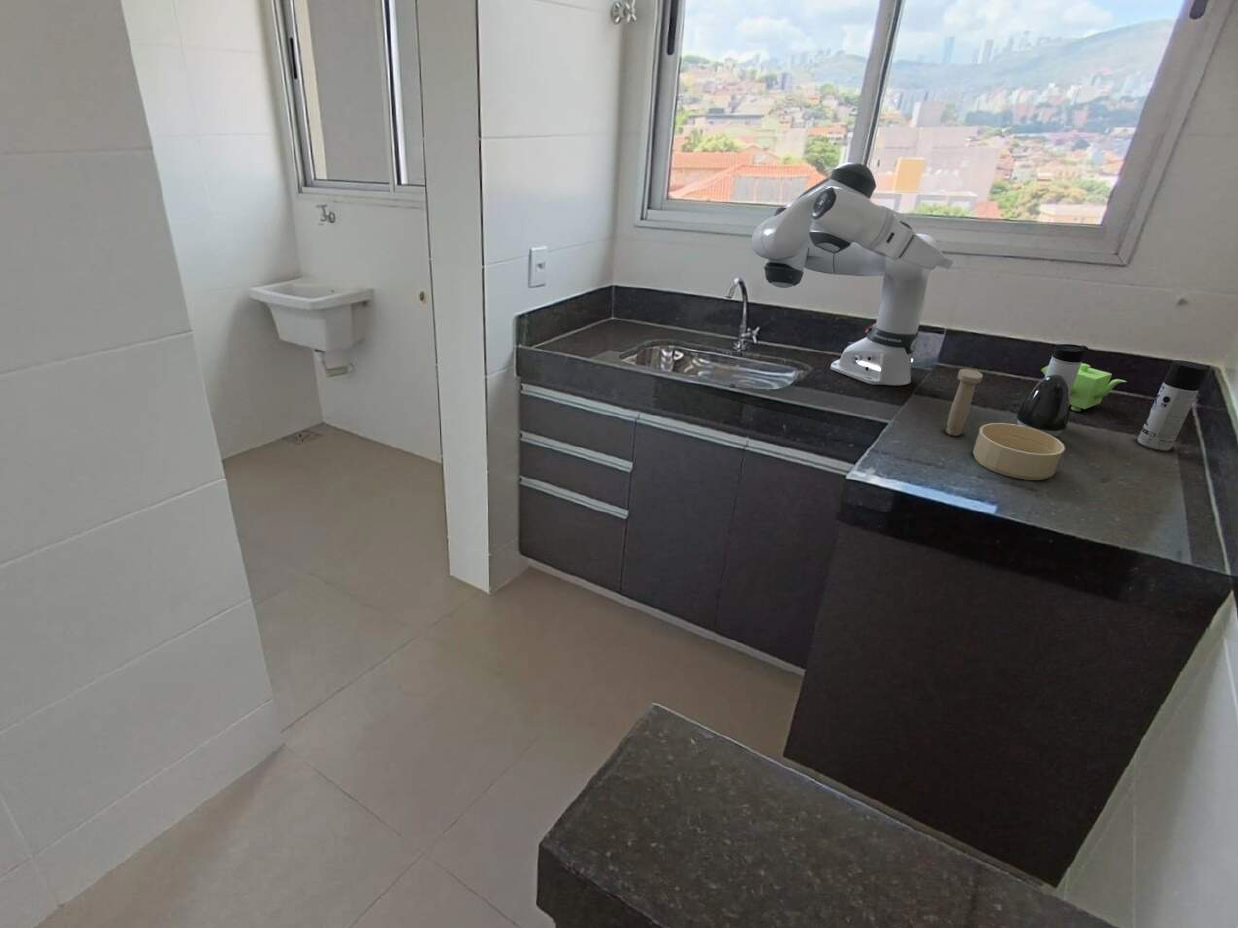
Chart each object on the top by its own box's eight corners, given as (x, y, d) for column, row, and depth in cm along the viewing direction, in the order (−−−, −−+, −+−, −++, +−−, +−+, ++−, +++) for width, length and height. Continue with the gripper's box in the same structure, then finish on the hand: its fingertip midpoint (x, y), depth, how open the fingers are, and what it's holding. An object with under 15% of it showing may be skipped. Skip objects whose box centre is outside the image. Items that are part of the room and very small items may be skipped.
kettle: (1112, 417, 174) (1129, 376, 169) (1054, 412, 176) (1069, 371, 171) (1085, 397, 188) (1100, 358, 183) (1031, 392, 189) (1044, 353, 184)
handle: (941, 436, 158) (959, 375, 151) (941, 426, 163) (959, 367, 157) (964, 440, 156) (983, 379, 150) (963, 430, 162) (981, 371, 155)
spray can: (1140, 436, 164) (1175, 357, 155) (1173, 446, 160) (1211, 365, 150) (1133, 444, 159) (1169, 363, 150) (1168, 454, 155) (1207, 371, 146)
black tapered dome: (1015, 440, 158) (1036, 378, 151) (1009, 424, 167) (1029, 365, 160) (1064, 448, 155) (1088, 386, 148) (1055, 431, 164) (1077, 372, 157)
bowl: (960, 461, 146) (968, 436, 144) (986, 440, 157) (994, 417, 154) (1042, 488, 137) (1052, 462, 134) (1063, 465, 147) (1073, 440, 144)
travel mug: (1063, 429, 166) (1093, 350, 157) (1034, 426, 167) (1062, 347, 158) (1054, 419, 171) (1082, 343, 162) (1026, 416, 172) (1052, 340, 163)
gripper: (864, 234, 153) (915, 258, 155) (892, 260, 135) (950, 286, 138) (880, 207, 149) (932, 232, 152) (911, 230, 132) (970, 257, 135)
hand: (941, 258), depth 145 cm, fingers open, 8 cm apart
